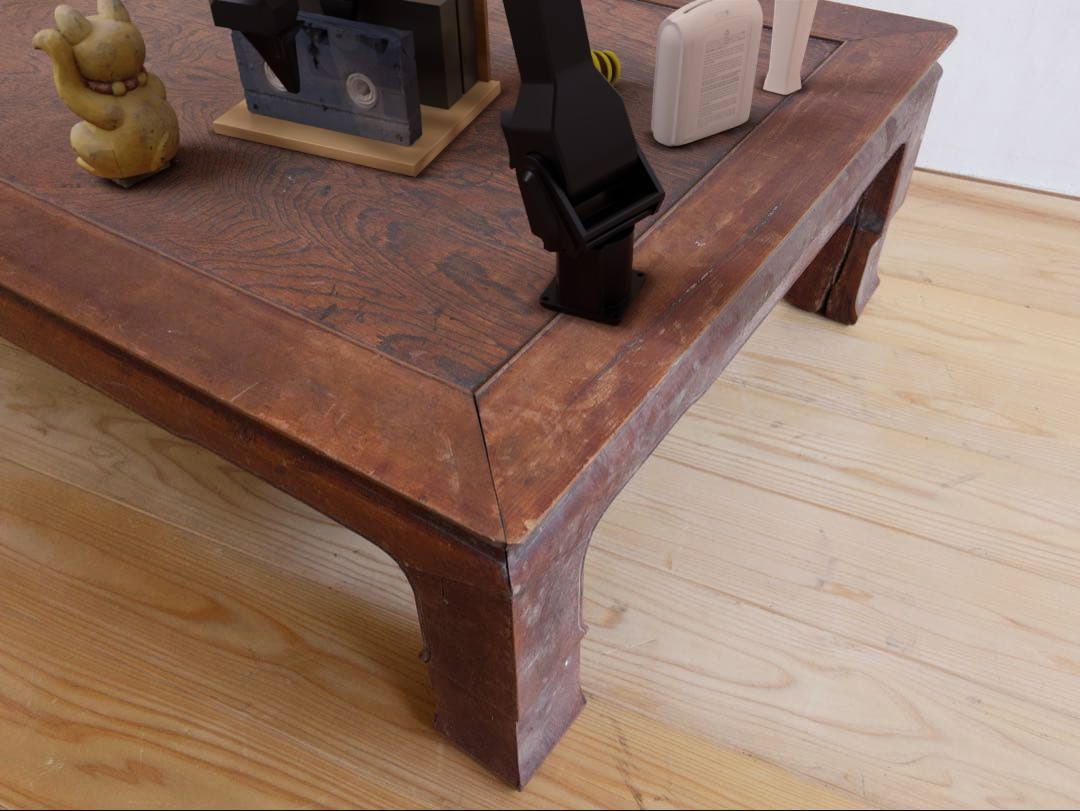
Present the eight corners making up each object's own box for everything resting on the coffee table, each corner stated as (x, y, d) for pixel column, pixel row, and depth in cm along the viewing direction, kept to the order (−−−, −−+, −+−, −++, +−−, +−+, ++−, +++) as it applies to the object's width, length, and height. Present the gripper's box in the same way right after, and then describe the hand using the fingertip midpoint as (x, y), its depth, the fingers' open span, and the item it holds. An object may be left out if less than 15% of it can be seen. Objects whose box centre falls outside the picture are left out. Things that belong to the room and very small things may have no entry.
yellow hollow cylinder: (620, 96, 100) (627, 46, 98) (595, 107, 96) (601, 55, 94) (540, 75, 104) (545, 26, 101) (513, 84, 100) (517, 34, 98)
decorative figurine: (148, 136, 94) (97, -25, 84) (213, 155, 91) (169, -9, 81) (70, 182, 88) (5, 15, 78) (137, 204, 85) (78, 34, 75)
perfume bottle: (811, 82, 100) (839, -74, 90) (794, 99, 97) (821, -60, 87) (769, 72, 102) (792, -82, 92) (751, 88, 99) (773, -69, 89)
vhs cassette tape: (425, 136, 91) (414, 29, 84) (408, 150, 89) (396, 42, 82) (265, 99, 97) (242, -3, 90) (246, 112, 95) (221, 8, 88)
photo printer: (725, 106, 97) (741, -23, 88) (755, 123, 94) (774, -8, 86) (643, 135, 93) (651, 3, 84) (672, 153, 90) (683, 19, 82)
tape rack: (415, 177, 88) (401, 55, 80) (215, 133, 94) (184, 17, 87) (501, 92, 100) (495, -21, 92) (317, 58, 106) (298, -50, 99)
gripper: (308, -70, 70) (342, 133, 80) (431, -136, 82) (446, 47, 93) (182, -86, 73) (230, 111, 84) (319, -147, 86) (345, 31, 96)
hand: (320, 73), depth 89 cm, fingers open, 8 cm apart
